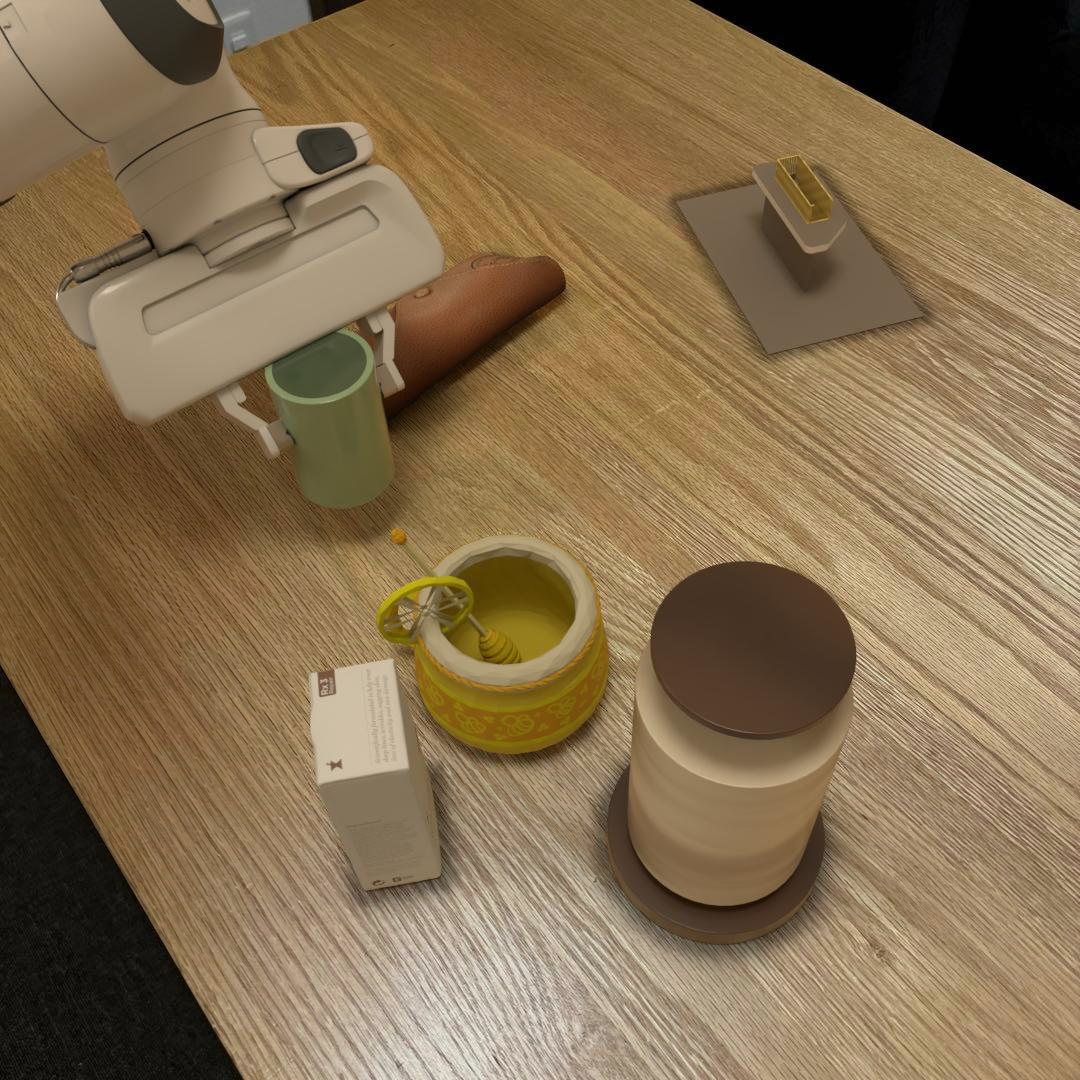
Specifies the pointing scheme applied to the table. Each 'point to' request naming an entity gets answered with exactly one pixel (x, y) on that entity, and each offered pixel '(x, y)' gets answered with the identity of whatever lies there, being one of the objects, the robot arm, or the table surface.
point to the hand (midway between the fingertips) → (338, 423)
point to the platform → (796, 258)
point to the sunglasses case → (464, 317)
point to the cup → (334, 420)
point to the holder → (732, 752)
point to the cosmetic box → (374, 774)
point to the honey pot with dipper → (503, 641)
